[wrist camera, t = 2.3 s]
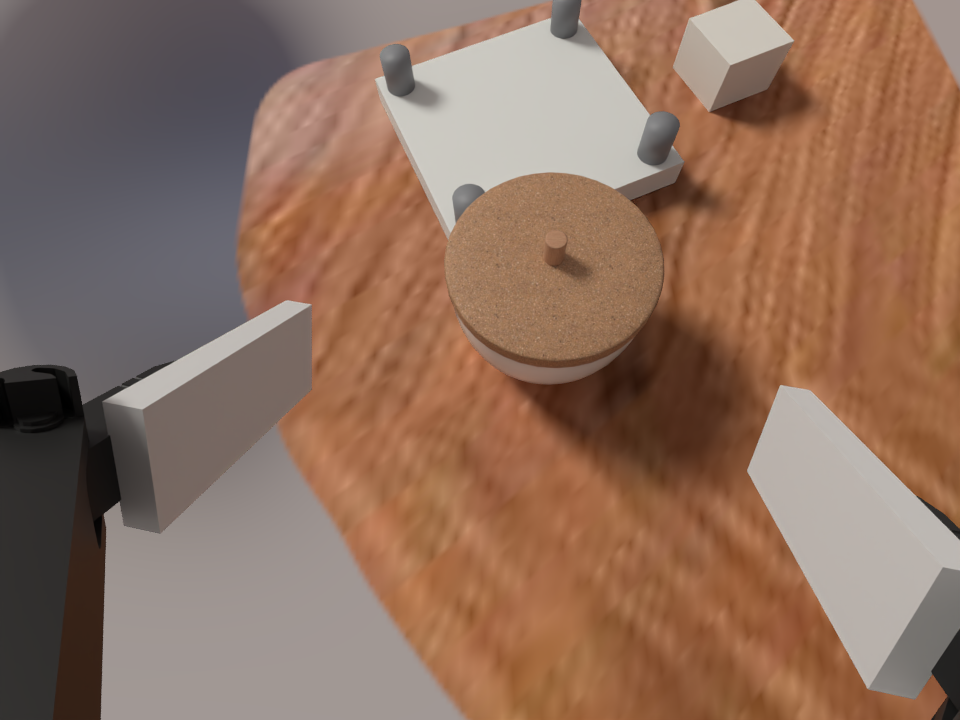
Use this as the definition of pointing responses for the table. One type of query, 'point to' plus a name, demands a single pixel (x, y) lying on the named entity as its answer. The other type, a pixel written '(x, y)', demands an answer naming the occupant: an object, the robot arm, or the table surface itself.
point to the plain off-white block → (731, 53)
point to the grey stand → (524, 115)
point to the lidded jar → (552, 275)
